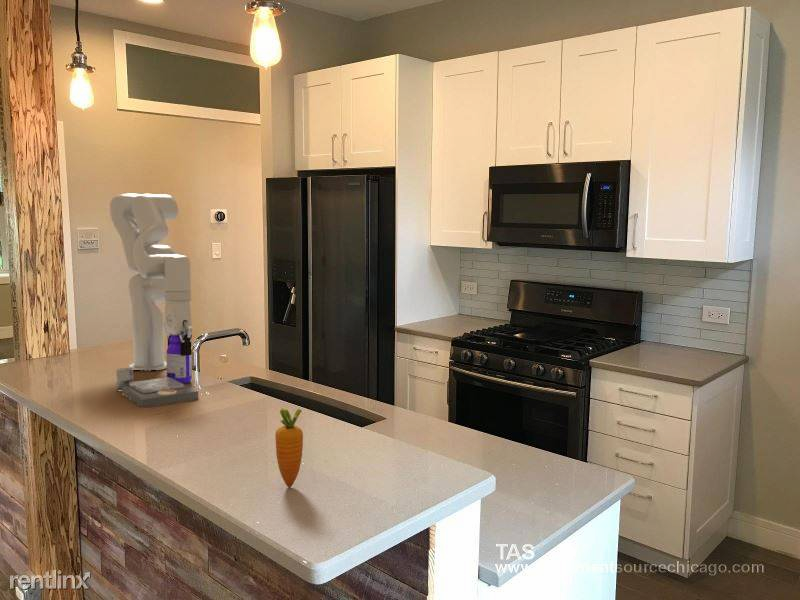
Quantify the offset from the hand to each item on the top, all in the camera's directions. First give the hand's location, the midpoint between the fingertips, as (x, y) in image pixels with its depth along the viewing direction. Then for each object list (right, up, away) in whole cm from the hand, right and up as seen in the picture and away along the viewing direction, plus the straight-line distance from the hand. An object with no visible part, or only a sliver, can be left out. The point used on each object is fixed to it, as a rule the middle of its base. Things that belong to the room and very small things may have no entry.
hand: (179, 353), depth 202 cm
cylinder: (-13, -10, -9) cm, 18 cm away
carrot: (+46, -19, -79) cm, 93 cm away
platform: (-2, -8, -14) cm, 17 cm away
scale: (0, -11, -16) cm, 19 cm away
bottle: (0, -9, +1) cm, 9 cm away
